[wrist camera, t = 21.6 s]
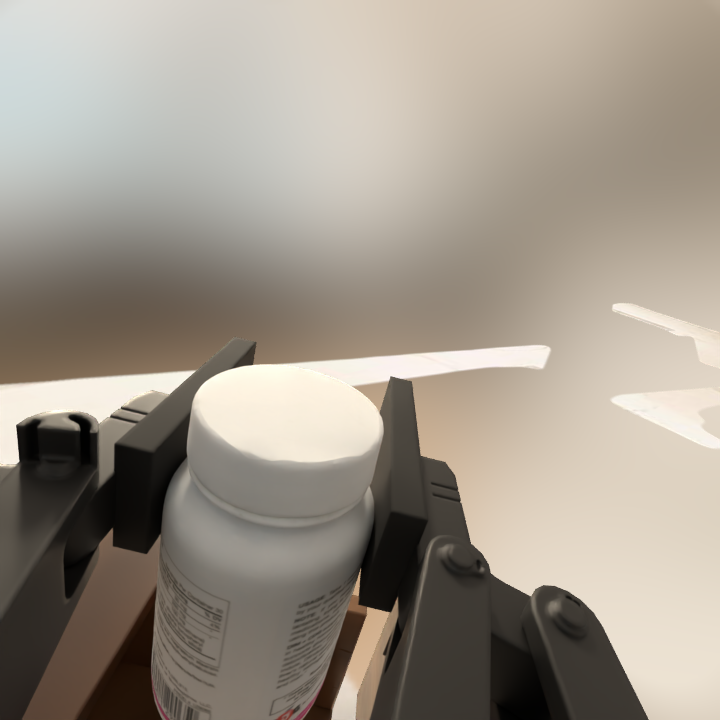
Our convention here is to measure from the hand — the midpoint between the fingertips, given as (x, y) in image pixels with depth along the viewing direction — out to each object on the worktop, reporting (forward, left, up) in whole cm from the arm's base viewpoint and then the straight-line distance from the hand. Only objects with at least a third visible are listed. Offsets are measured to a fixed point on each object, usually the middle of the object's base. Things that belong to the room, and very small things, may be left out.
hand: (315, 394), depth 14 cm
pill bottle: (0, +5, -6) cm, 8 cm away
